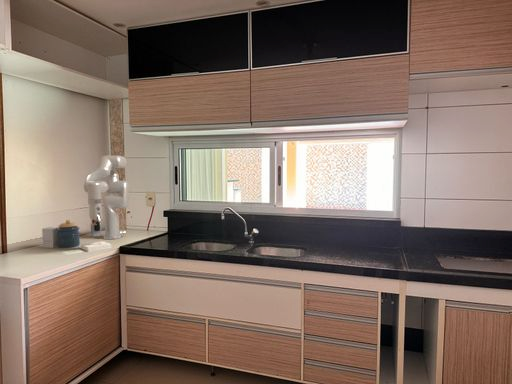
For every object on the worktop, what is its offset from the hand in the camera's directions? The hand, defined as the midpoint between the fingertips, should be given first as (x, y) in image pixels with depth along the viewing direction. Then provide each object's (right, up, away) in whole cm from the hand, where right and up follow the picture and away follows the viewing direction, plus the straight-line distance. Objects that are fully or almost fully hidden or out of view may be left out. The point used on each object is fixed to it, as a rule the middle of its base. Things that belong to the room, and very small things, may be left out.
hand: (96, 230), depth 219 cm
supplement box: (-32, -12, +7) cm, 35 cm away
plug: (0, -3, 0) cm, 3 cm away
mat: (-10, -13, -10) cm, 19 cm away
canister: (-21, -12, +7) cm, 25 cm away
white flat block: (0, -12, 0) cm, 12 cm away
